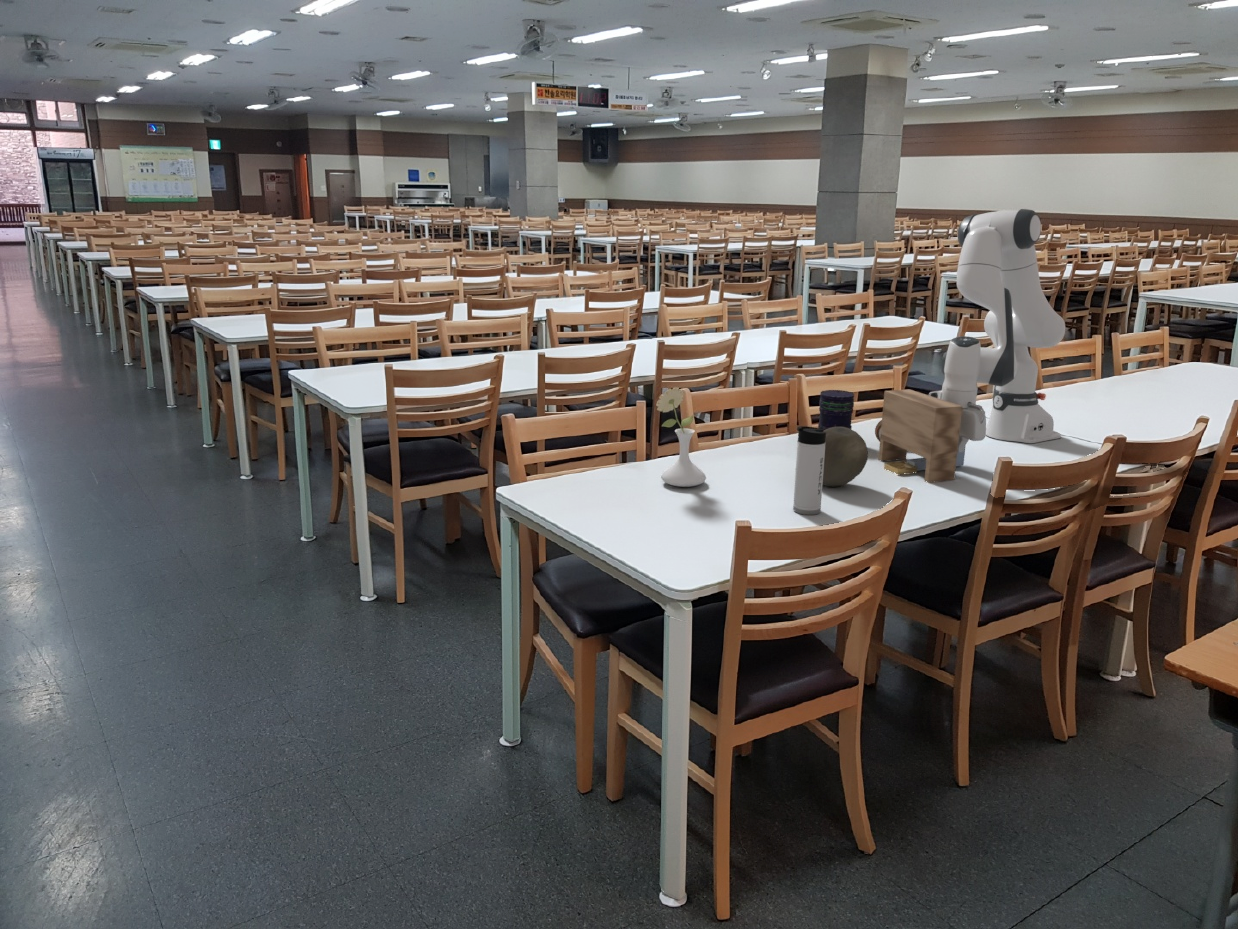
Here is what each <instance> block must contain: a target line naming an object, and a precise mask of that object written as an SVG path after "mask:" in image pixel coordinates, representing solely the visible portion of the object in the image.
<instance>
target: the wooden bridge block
mask: <svg viewBox="0 0 1238 929" xmlns="http://www.w3.org/2000/svg"><path fill="white" fill-rule="evenodd" d="M961 415H962V406H960V405H957V404H954V403H951V402H948V401H945V400H941V399H938V398H935V397H932V396H929V394H925V393H922V392H920V391H915V390H913V389H895V390H884V394H883V405H882V415H881V416H882V417H881V420H882V425H881V436H880V442H879V446H878V447H879V449H878V450H879V451H878V458H877V460H878V461H879V460H881V461H880V462H884V461H883V460H891V461H897V460H896V459H902V460H906V459H907V454H908V452H909V453H912V454H915V455H917V456H919V457H921V458H926V459H927V460H926V469H925V470H924V480H925V481H927V482H930V483H937V482H936V481H940V482H946V480H949V481H955V473H956V468H957V466H956V458H957V450H958V441H959V432H960V424H961ZM925 481H924V482H925ZM934 481H935V482H934ZM927 482H926V483H927Z"/></svg>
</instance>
